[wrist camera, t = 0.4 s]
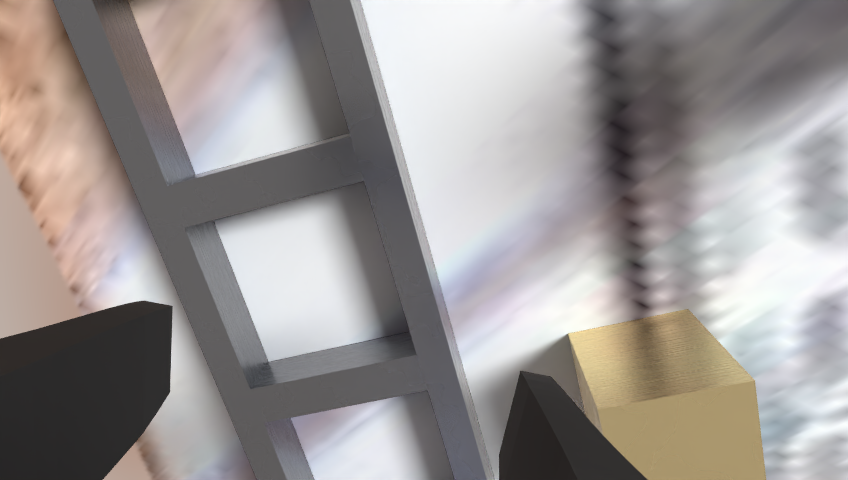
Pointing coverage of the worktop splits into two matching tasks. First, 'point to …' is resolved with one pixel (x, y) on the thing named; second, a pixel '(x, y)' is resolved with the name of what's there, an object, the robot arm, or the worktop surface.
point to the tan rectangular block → (670, 398)
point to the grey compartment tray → (267, 185)
